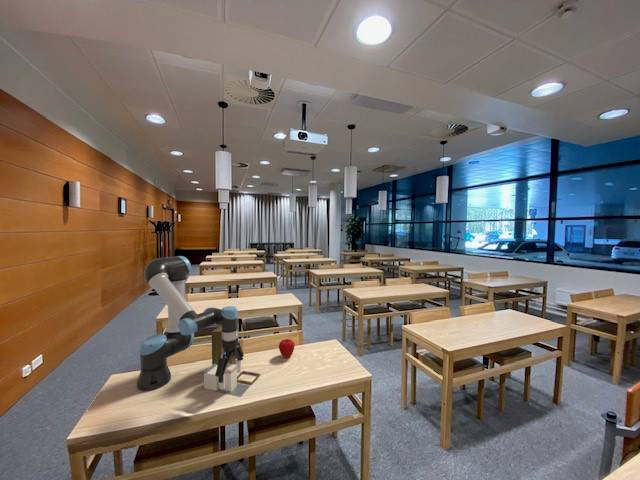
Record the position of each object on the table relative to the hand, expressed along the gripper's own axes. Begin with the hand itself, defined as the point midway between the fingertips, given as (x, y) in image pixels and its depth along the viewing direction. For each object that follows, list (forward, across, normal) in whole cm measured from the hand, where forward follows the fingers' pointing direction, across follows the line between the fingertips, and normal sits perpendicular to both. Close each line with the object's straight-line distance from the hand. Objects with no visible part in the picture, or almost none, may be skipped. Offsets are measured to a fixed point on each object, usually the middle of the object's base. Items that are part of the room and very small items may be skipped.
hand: (230, 380), depth 132 cm
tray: (+5, +10, -3) cm, 12 cm away
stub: (+4, 0, +2) cm, 5 cm away
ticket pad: (+4, 0, +9) cm, 10 cm away
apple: (+6, +40, -13) cm, 43 cm away
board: (+5, 0, +3) cm, 6 cm away
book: (+6, +16, +15) cm, 22 cm away
